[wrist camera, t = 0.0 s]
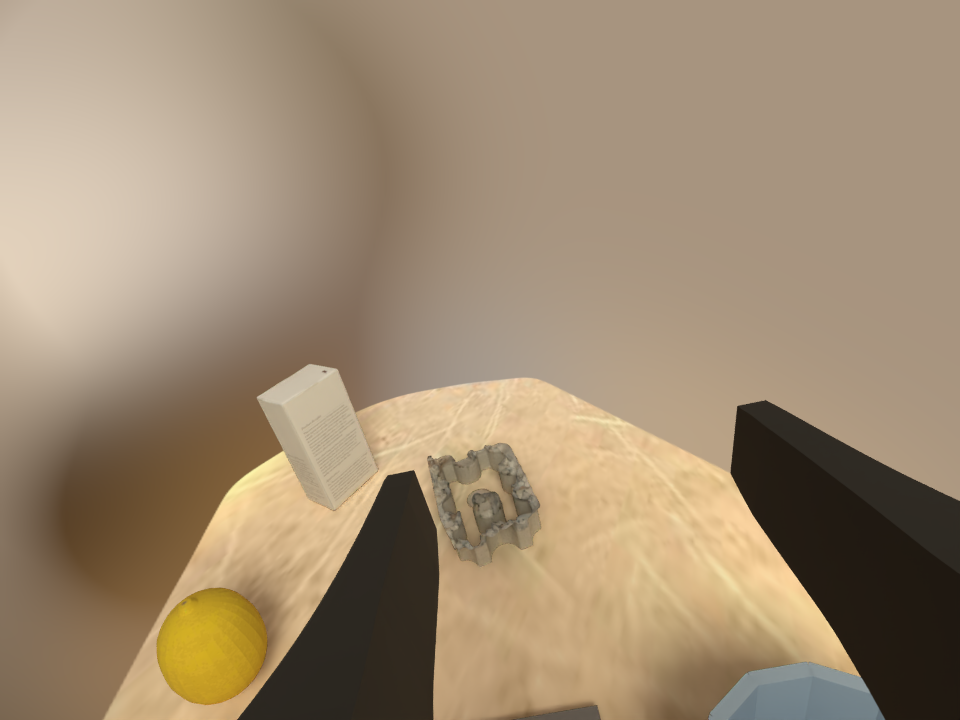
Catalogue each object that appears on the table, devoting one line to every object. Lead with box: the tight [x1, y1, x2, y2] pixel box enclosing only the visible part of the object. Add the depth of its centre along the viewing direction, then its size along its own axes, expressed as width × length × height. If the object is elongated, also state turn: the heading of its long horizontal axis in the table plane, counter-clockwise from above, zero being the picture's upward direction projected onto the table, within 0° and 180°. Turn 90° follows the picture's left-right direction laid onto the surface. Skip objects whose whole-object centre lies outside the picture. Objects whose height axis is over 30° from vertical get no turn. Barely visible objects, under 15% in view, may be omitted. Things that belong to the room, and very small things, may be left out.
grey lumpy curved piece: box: [427, 443, 541, 567], centre depth 40 cm, size 11×8×4 cm
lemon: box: [157, 588, 267, 705], centre depth 30 cm, size 6×6×8 cm
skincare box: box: [257, 364, 378, 511], centre depth 45 cm, size 6×4×12 cm
